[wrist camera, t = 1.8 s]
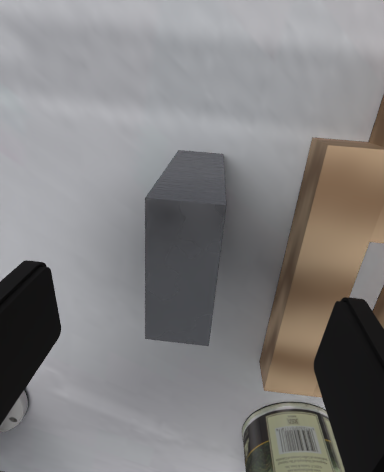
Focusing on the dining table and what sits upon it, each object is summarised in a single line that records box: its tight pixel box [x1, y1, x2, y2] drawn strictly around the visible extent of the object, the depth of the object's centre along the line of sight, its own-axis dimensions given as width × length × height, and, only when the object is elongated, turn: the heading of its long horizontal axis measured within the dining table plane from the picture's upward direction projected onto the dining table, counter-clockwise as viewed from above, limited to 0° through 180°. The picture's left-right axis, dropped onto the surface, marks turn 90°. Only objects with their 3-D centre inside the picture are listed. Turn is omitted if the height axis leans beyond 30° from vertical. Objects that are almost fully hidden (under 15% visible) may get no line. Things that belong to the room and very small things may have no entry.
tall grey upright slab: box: [145, 150, 226, 346], centre depth 17 cm, size 7×3×10 cm, turn 176°
